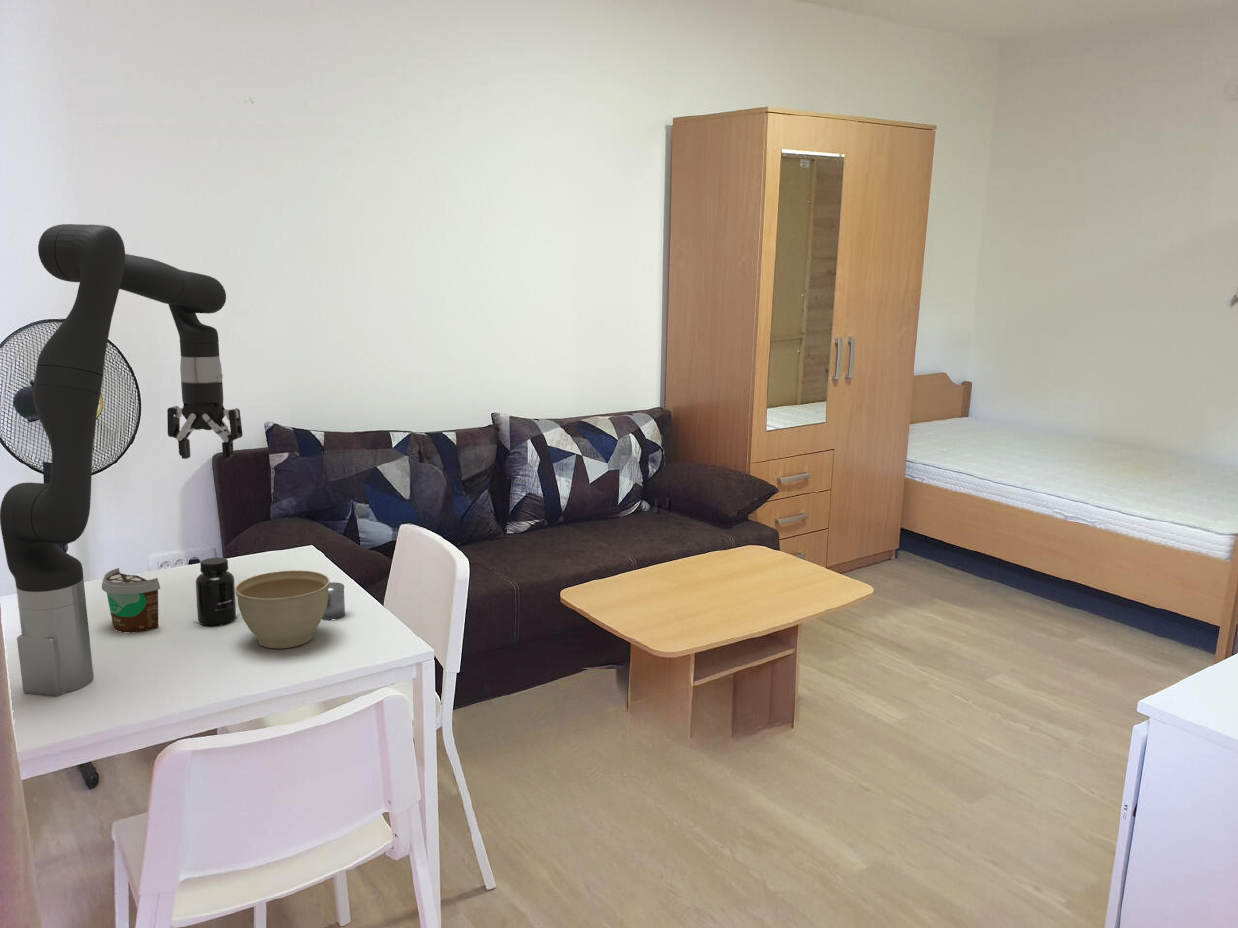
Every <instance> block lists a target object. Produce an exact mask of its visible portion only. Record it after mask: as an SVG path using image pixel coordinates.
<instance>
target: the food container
mask: <svg viewBox="0 0 1238 928" xmlns="http://www.w3.org/2000/svg"><path fill="white" fill-rule="evenodd" d="M160 589H161V585H160V582H159V579H158V577H155V578H152V579H145V578H144V577H141V576H139V575H136V574H135V575H133V574H131V575H130V574H126V573H122V572H121V571H120V568H119V567H118V568H113V569H112V570H110V571H107V573H105V574H104V577H103V579H102V584H101V590H102V591H104V592H105V593H106V597H107V602H108V607H109V611H110V617H111V623H112V628H113V630H114V629H115V630H114V631H116V630H117V631H116V632H118V631H121V632H120V633H124V632H129V633H130V634H131V633H132V634H133V632H135V633H143V632H148V631H153V630H155V629H158V628H159V590H160Z"/></svg>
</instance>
